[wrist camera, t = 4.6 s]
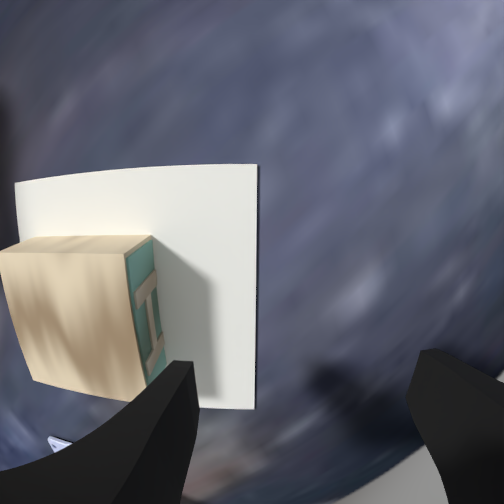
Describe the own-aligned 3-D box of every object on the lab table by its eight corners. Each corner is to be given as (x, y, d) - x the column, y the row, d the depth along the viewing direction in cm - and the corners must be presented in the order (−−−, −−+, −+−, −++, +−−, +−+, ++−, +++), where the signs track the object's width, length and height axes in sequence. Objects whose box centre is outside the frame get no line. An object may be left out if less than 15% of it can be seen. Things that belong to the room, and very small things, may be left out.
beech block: (154, 405, 12) (33, 380, 12) (169, 365, 15) (59, 351, 15) (128, 254, 10) (-4, 252, 10) (155, 234, 13) (34, 236, 13)
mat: (254, 408, 16) (254, 409, 16) (58, 384, 16) (57, 385, 16) (257, 164, 13) (257, 164, 12) (15, 182, 13) (14, 182, 12)
